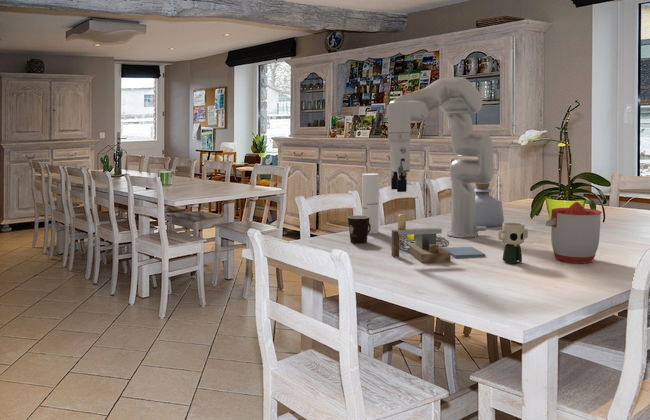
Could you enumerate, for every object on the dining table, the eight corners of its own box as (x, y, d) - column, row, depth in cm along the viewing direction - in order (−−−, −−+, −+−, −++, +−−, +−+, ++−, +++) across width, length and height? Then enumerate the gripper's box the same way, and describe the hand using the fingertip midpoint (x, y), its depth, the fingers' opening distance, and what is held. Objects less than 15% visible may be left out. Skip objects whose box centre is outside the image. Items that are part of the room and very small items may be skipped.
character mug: (503, 266, 201) (504, 226, 199) (492, 261, 207) (493, 223, 206) (532, 263, 204) (534, 224, 202) (520, 259, 210) (521, 221, 209)
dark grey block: (429, 244, 222) (429, 227, 221) (436, 248, 214) (436, 231, 213) (415, 244, 221) (415, 228, 220) (422, 249, 213) (422, 232, 212)
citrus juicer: (539, 254, 217) (541, 198, 214) (590, 255, 215) (593, 198, 212) (550, 265, 201) (553, 204, 199) (605, 265, 200) (609, 204, 197)
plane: (429, 247, 230) (429, 223, 229) (450, 262, 207) (451, 235, 206) (384, 249, 228) (384, 225, 227) (401, 263, 205) (401, 237, 203)
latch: (439, 232, 210) (439, 213, 209) (441, 233, 207) (442, 214, 206) (397, 233, 208) (397, 214, 207) (398, 234, 205) (399, 215, 204)
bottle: (503, 221, 291) (504, 181, 288) (505, 228, 272) (506, 185, 269) (459, 220, 295) (460, 180, 293) (458, 226, 276) (459, 184, 274)
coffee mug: (346, 240, 246) (346, 215, 245) (367, 239, 247) (367, 215, 246) (350, 246, 235) (350, 220, 234) (372, 245, 236) (372, 219, 234)
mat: (471, 249, 227) (471, 246, 227) (485, 256, 214) (485, 254, 214) (442, 250, 225) (442, 247, 225) (454, 258, 213) (455, 255, 213)
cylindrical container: (377, 234, 260) (377, 174, 256) (360, 233, 261) (360, 174, 258) (379, 231, 267) (379, 173, 263) (363, 230, 268) (363, 173, 264)
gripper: (417, 138, 199) (416, 193, 201) (403, 137, 216) (402, 187, 218) (394, 138, 198) (394, 193, 200) (382, 137, 215) (382, 188, 217)
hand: (398, 190), depth 209 cm, fingers open, 7 cm apart
